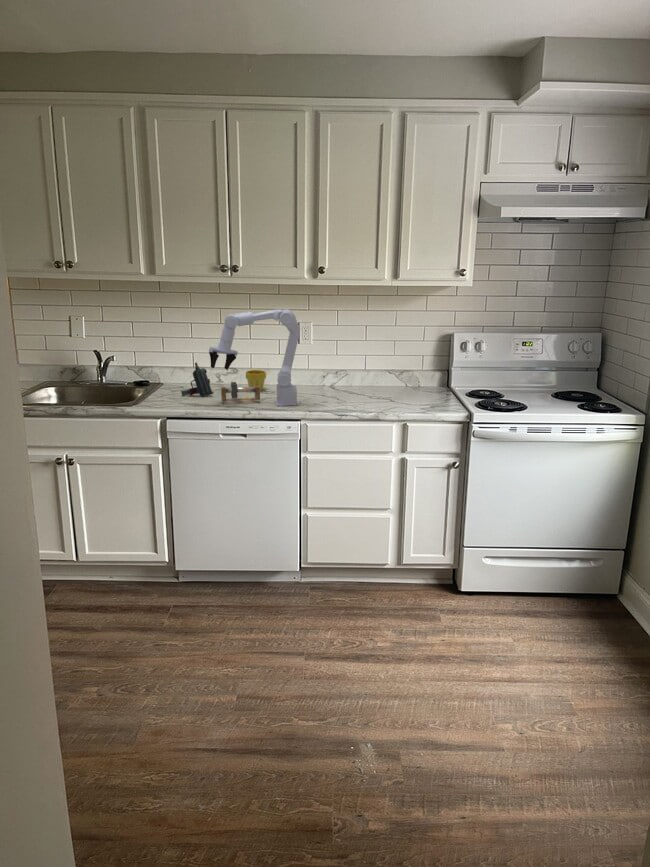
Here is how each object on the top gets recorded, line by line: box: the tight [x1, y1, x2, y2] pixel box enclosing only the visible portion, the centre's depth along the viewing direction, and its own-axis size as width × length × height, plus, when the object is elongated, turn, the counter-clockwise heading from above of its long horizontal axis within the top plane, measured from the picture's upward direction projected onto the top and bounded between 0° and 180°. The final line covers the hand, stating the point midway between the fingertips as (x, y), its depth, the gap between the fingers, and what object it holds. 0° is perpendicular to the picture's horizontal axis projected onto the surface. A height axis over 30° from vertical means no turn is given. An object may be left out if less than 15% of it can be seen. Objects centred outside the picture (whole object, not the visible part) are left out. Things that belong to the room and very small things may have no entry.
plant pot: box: [245, 369, 267, 392], centre depth 328 cm, size 10×10×10 cm
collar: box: [230, 381, 238, 398], centre depth 303 cm, size 2×6×6 cm, turn 12°
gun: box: [180, 362, 214, 398], centre depth 313 cm, size 3×17×15 cm
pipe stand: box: [220, 386, 261, 405], centre depth 305 cm, size 18×6×7 cm, turn 102°
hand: (219, 368), depth 297 cm, fingers open, 7 cm apart
